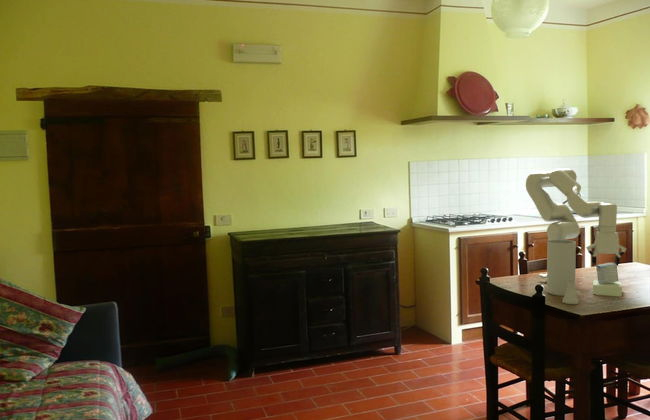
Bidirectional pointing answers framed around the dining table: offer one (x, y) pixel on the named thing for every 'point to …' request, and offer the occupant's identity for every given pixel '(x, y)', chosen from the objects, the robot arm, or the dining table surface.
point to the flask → (570, 294)
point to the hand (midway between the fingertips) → (605, 264)
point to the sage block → (607, 288)
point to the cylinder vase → (560, 265)
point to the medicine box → (607, 273)
